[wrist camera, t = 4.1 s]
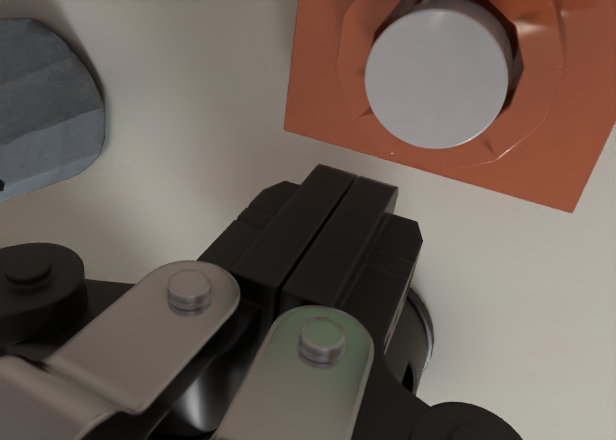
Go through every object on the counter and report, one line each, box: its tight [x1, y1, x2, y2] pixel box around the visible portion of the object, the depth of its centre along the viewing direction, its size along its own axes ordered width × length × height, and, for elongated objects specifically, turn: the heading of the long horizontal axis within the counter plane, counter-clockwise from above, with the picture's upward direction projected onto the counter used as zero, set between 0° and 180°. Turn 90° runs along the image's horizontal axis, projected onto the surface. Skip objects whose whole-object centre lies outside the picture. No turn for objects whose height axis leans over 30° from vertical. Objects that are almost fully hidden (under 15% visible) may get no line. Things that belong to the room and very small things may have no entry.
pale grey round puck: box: [365, 0, 513, 149], centre depth 18 cm, size 4×4×2 cm
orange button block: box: [284, 0, 616, 213], centre depth 21 cm, size 12×10×4 cm
